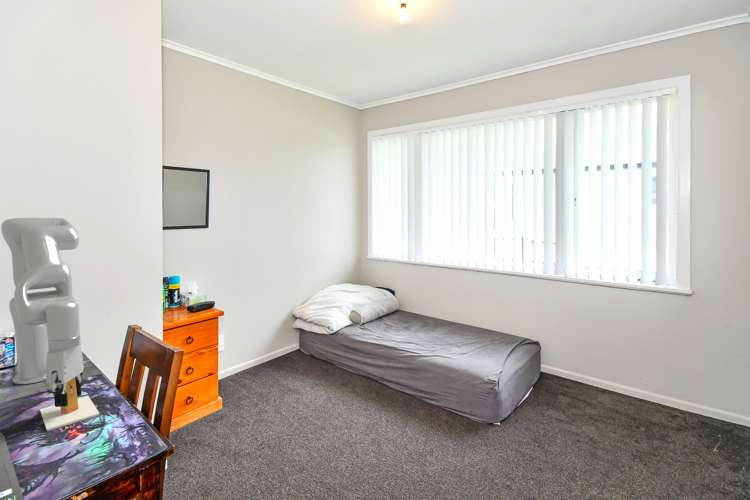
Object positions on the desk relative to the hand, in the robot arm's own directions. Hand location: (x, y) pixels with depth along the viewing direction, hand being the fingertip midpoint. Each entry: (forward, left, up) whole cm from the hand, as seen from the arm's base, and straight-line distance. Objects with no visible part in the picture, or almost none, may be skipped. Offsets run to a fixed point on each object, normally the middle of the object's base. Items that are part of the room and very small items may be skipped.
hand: (68, 400), depth 115 cm
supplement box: (0, 0, -4) cm, 4 cm away
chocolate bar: (-25, -16, -5) cm, 30 cm away
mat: (0, 0, -4) cm, 4 cm away
